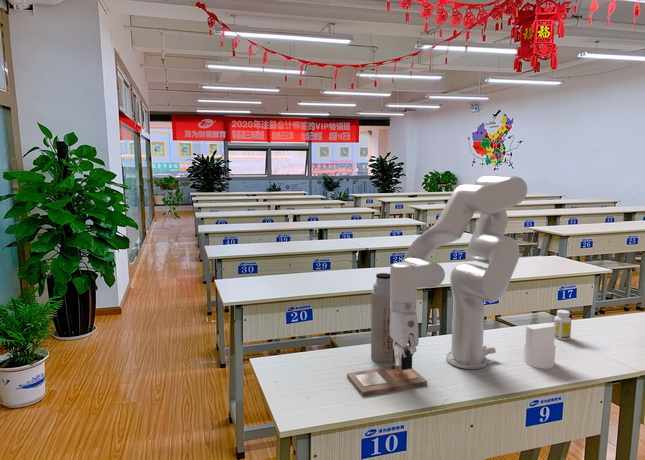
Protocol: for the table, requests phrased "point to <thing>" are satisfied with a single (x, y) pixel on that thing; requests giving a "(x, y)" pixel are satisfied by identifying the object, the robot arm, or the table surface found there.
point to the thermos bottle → (381, 320)
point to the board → (384, 380)
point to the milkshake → (399, 360)
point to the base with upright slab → (539, 346)
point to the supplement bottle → (562, 325)
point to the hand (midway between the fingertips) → (402, 364)
